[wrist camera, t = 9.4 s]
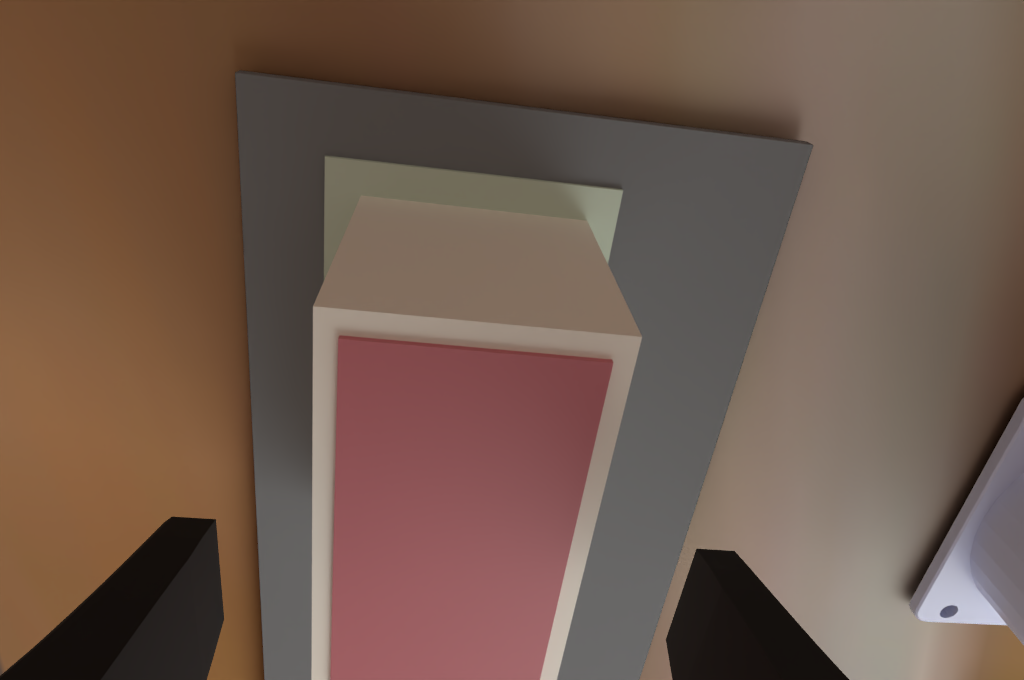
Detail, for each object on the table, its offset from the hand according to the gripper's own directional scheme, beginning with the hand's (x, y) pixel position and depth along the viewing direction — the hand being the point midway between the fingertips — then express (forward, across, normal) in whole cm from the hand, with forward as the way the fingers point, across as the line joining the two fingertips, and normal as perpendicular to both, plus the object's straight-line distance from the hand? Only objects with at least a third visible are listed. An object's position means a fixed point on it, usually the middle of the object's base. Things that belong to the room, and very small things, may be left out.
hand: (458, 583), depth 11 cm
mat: (+6, -1, +3) cm, 7 cm away
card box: (+6, 0, 0) cm, 6 cm away
